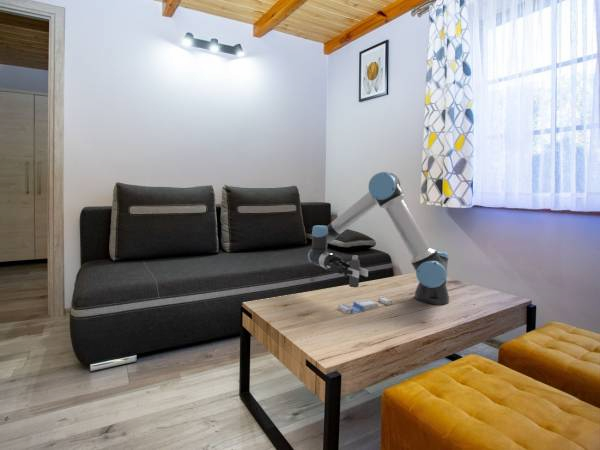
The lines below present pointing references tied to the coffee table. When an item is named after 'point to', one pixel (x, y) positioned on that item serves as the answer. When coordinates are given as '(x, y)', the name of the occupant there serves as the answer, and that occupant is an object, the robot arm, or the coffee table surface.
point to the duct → (363, 305)
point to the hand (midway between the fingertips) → (362, 274)
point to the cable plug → (354, 265)
